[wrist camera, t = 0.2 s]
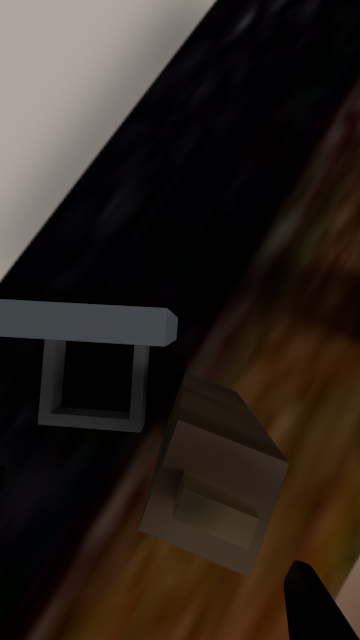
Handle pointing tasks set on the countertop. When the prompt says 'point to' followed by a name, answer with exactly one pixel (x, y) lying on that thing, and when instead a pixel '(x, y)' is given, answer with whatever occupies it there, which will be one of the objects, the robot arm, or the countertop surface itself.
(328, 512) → the countertop surface
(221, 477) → the brown box with handle
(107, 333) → the grey stool
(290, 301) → the countertop surface
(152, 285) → the countertop surface
